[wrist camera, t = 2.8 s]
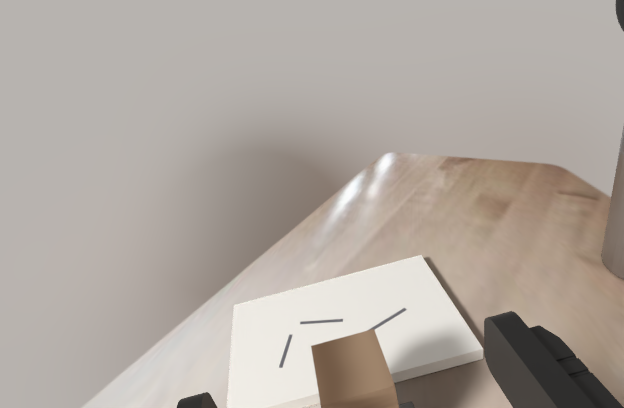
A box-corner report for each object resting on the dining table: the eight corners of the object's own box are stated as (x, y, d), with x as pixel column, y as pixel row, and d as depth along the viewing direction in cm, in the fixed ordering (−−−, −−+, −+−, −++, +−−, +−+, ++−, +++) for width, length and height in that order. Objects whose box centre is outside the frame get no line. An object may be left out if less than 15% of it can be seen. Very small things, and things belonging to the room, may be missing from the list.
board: (421, 263, 52) (421, 254, 52) (483, 358, 38) (483, 348, 38) (237, 313, 52) (233, 304, 51) (230, 427, 38) (225, 418, 37)
